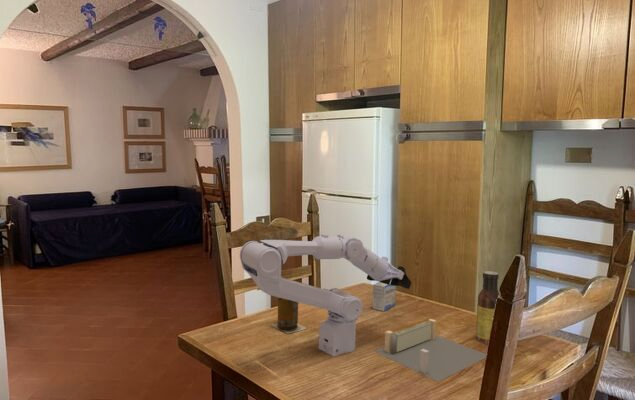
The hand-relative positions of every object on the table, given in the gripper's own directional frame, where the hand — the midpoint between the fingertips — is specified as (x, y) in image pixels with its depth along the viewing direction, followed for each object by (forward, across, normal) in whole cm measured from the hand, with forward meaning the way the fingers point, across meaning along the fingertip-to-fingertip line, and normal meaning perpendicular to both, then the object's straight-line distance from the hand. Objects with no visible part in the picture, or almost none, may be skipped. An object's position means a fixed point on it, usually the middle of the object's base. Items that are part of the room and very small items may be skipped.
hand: (399, 283), depth 132 cm
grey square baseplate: (+6, -14, +16) cm, 22 cm away
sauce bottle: (+23, -17, +5) cm, 29 cm away
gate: (+4, -8, +15) cm, 17 cm away
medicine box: (+18, +20, +4) cm, 28 cm away
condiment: (-12, +23, +24) cm, 35 cm away
